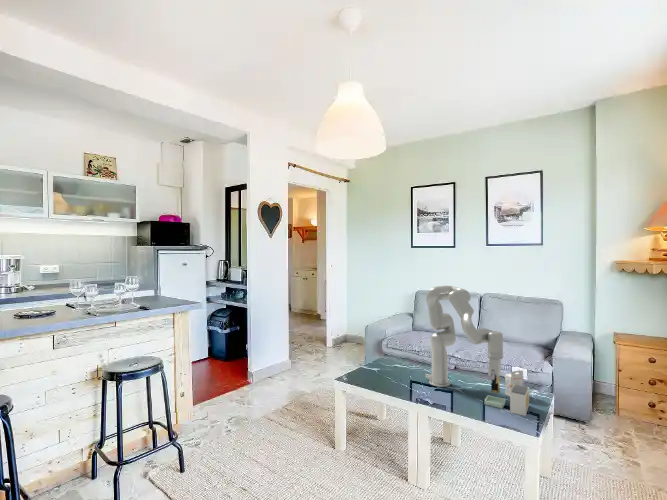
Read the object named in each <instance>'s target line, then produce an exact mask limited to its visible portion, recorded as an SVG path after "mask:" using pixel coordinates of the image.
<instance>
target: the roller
mask: <svg viewBox="0 0 667 500" xmlns="http://www.w3.org/2000/svg"><path fill="white" fill-rule="evenodd" d="M495 377H496V376H495ZM490 378H492V375H491V376H490ZM495 379H496V378H495ZM500 379H501V378H500V376H499V377H498V378H497V383H498V391H495V390H491V393H493V394H500V386H501V383H500V382H501V381H500Z"/></svg>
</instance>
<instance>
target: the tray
mask: <svg viewBox="0 0 667 500" xmlns="http://www.w3.org/2000/svg"><path fill="white" fill-rule="evenodd" d="M506 400H507V399H506V398H503V397H499V396H494V395H489V394H487V395H486V397H485V398H484V401H483V405H484V406H489V407H493V408H498V409H502V410H503V409H504V407H505V405H506V402H507V401H506Z"/></svg>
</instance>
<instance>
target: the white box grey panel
mask: <svg viewBox="0 0 667 500" xmlns="http://www.w3.org/2000/svg"><path fill="white" fill-rule="evenodd" d="M509 400H510V401H509V409H510V410H509V413H510V414H511V413H512V414H516V415H520V416H523V417H526V415H527V413H528V409H529V406H530V403H529V402H530V387H529V386H525V385H523V386H521V385H516V384H514V386H513V388H512V390H511V392H510V399H509Z"/></svg>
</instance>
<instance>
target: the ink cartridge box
mask: <svg viewBox="0 0 667 500" xmlns="http://www.w3.org/2000/svg"><path fill="white" fill-rule="evenodd" d="M504 379H505V384H504V385H505V387H504V388H505V391H504V392H505V394H504V395H505V396H507V397H510V392H511V390H512V388H513V386H514V384H516V385H521V386H524V371H523V370H522V369H521V370H514V371H511V372H510V373H506V374H505V375H504Z"/></svg>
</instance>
